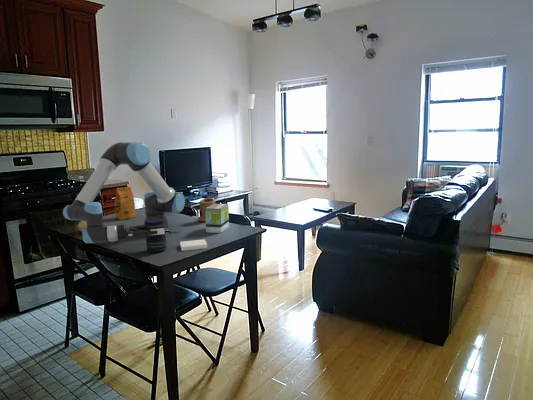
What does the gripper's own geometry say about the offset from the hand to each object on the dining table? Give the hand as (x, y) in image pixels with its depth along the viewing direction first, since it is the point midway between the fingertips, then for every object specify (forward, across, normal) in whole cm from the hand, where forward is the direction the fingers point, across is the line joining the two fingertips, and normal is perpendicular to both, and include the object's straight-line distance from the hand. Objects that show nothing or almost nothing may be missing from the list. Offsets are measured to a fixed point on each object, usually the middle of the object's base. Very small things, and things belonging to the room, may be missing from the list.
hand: (164, 228), depth 203 cm
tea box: (+31, -31, -11) cm, 45 cm away
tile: (+7, 0, -10) cm, 13 cm away
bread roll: (-45, -54, -11) cm, 71 cm away
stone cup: (+30, -58, -11) cm, 66 cm away
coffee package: (-25, -88, -11) cm, 92 cm away
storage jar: (-4, 0, -10) cm, 11 cm away
